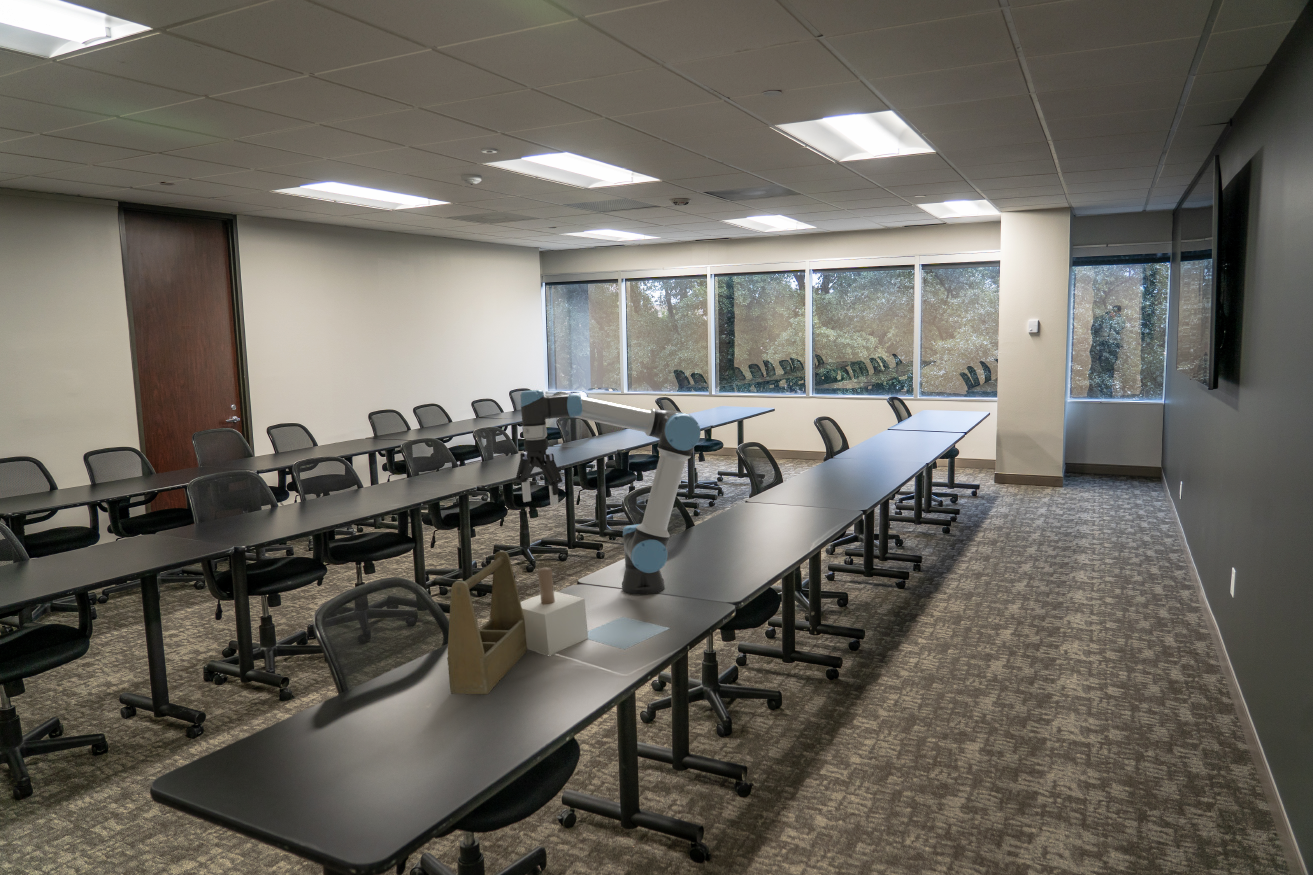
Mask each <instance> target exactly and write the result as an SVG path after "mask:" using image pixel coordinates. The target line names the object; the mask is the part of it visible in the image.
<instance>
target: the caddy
mask: <svg viewBox="0 0 1313 875" xmlns="http://www.w3.org/2000/svg"><path fill="white" fill-rule="evenodd" d="M491 574H492V584H491V602H490V613H489V620H488V621H486V622H485V623H484V624H483V625H482V626H481V627H480V626H479V624H478V619H477V615H476V611H475V608H474V604H473V600H472V596H471V592H470V590H471V589H472V588H474V587H475V586H476V585H479V583H481V582H482V581H483V580H485V579H486V578H487V577H489V576H490V575H491ZM514 574H515V573H514V569H513V566H512V562H511V558H510V555H509V553H508V552H506V551H503V550H500V551H497V552H495V553H494V557H493V561H492V562H491V563H489V564H488V565H486V566H485V567H484V568H482V569H481V570H480V571H478V572H477V573H475V574H474V575H472V576H470V577H468V578H467V579H466V580H456V581H454V582H453V583H452V585H451V590H450V601H449V602H450V604H449V606H450V607H449V619H448V620H449V622H448V623H449V624H448V636H447V637H448V639H447V657H446V658H447V666H448V667H447V670H448V681H449V688H450V689H449V690H450V694H454V695H455V694H459V695H460V694H461V695H462V694H463V695H488V694H489V693H490V692H491V691H492V690H493V689H494V688H493V687H496V686H497V684H498V683H499V682H500V681H501V680H502V679H503V678H504V677H505V675H506V674H507V673H508V672H509V671H510V670H511V669H512V668H513V667H514V666H515V665H516V664H517V663H518V662H519V661H520V659H521V658H522V657H523V656H524V655H525V654H526V653H527V651H528V649H527V644H526V633H525V620H524V615H523V611H522V607H521V603H520V602H521V599H520V595H519V590H518V585H517V582H516V579H515V578H516V577H515V575H514ZM479 627H480V628H479ZM502 677H503V678H502ZM501 678H502V679H501ZM499 680H500V681H499Z"/></svg>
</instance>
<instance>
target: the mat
mask: <svg viewBox="0 0 1313 875" xmlns="http://www.w3.org/2000/svg"><path fill="white" fill-rule="evenodd" d="M670 629H671V627H667V626H662V625H659V624H656V623H655V624H654V623H650V622H646V621H643V620H637V619H636V618H629V617H626V616H620V617H619V618H616V619H613V620H611V621H608V622H605V623H604V624H601V625H599V626H596V627H595V628H592V629H589V630H588V639H587V640H590V641H592V642H593V641H594V642H596V643H601V644H604V645H607V646H610V647H614V648H618V649H622V650H627V649H628V648H631V647H633V646H635V645H637V644H640V643H642V642H644V641H646V640H648V639H650V638H653V637H655V636H657V635H659V634H661V633H663V632H666V631H668V630H670Z"/></svg>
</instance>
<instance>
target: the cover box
mask: <svg viewBox="0 0 1313 875" xmlns="http://www.w3.org/2000/svg"><path fill="white" fill-rule="evenodd" d="M537 577H538V584H539V585H538V587H539V595H535V596H533V597H530V598H527V599H525V600H523V601H520V603H521V607H522V611H523V615H524V620H525V633H526V644H527V650H529V651H532V652H536V653H538V654H541V653H542V654H541V655H544V654H545V655H544V656H547V655H549V656H548V657H550V655H551V656H552V655H555V654H556V653H557V652H559V651H562V650H565V649H567V648H569V647H571V646H574V645H576V644H578V643H581V642H583V641H586V640H589V639H588V631H589V630H588V622H587V619H588V618H587V612H586V600H585V598H584V597H579V596H575V595H571V594H567V593H562V592H560V591H556V590H555V591H554V583H553V582H554V581H553V580H554V579H553V571H552V568H551V567H548V566H546V567H540V568H538V569H537Z"/></svg>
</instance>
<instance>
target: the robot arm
mask: <svg viewBox="0 0 1313 875" xmlns="http://www.w3.org/2000/svg"><path fill="white" fill-rule="evenodd" d="M544 393H545V392H544V390H542V389H536V390H535V389H533V390H524V391H522V392H521V393H520V411H521V414H520V415H521V422H522V429H523V430H522V434H523V438H524V440H523V446H524V447H523V449H524V452H520V454H519V456H520V458H519V464H518V468H517V473H516V476H515V479H516V480H517V481H519V482H520V485H521V486H520V487H521V492H522V501H523V503H526V502H527V503H528V502H531V501H532V495H531V482H530V479H529V478H530V476H531V475H532V472H533V470H534V468H538V469H539V470H542V472H543V474H544V475H545V477H546V479H547V480H548V482H549V485H548V490H549V502H550V506H552V507H553V506H557V505H559V484H561V483H563V479H562V478H563V477H562V476H561V473H560V470H559V468H558V466H557V464H556V461H555V456H554V453H548V454H547V450H548V448H549V445H548V444H549V443H548V438H546V437H547V436H548V431H547V430H548V429H547V421H546V420H547V419H548V420H551V419H562V418H566V419H567V418H571V419H572V418H576V419H582V420H586V421H591V422H595V423H599V424H600V423H601V424H605V425H609V426H614V427H619V428H623V429H629V430H634V431H638V432H642V433H645V435H646V436H648V437H652V438H656V439H658V444H657V450H658V452H659V458H658V462H657V465H656V470H655V473H654V477H653V479H652V484H651V488H650V493H649V496H648V500H647V504H646V507H645V511H644V515H643V519H642V521H641V523H638V524H631V525H626V526H624V527H623V530H622V537H623V538H622V539H623V551H624V562H625V564H624V565H625V569H624V573H623V578H622V582H621V591H622V592H623V593H624V594H627V595H633V596H635V595H636V596H644V595H645V596H646V595H647V596H648V595H651V594H656V593H659V592H662V591H663V590H664V589H665V586H666V585H665V584H666V583H665V579H664V578H663V576H662V572H661V569H662V568H664V566H665V565H666V563H667V560H668V555H669V554H668V549H667V547H668V544H669V540H670V533H669V532H668V527H669V522H670V519H671V516H672V511H673V508H674V505H675V500H676V497H677V493H678V489H679V487H680V486H679V485H680V482H681V478H682V474H683V471H684V467H685V463H686V461H687V460H689V459H690V458H691V457H692V454H693V452H694V447H695V446H697V445H698V443H699V441H700V439H701V427H700V424H699V422H698V421H697V420H696V419H695V417H694V416H692V415H691V414H688V413H685V412H682V411H679V410H666V409H665V410H664V409H659V408H657V409H656V408H651V409H650V410H649V409H643V408H638V407H633V406H628V405H624V404H621V403H620V404H619V403H614V402H609V401H606V400H602V399H601V400H600V399H596V398H591V397H586V396H581V394H580V393H567V392H565V391H557V392H554V393H553V394H552V395H545V394H544Z"/></svg>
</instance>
